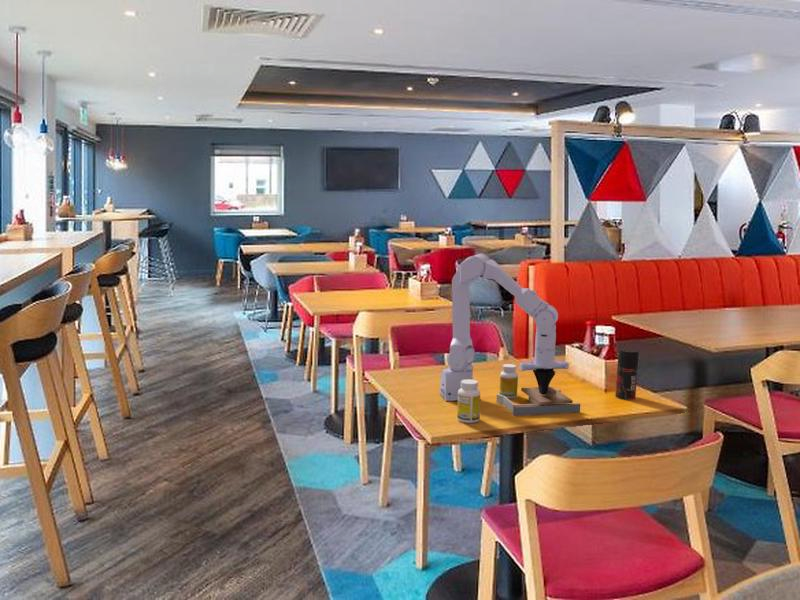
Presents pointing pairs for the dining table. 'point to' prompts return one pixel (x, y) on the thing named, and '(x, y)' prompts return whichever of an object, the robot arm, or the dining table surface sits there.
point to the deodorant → (627, 373)
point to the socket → (537, 407)
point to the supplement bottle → (509, 381)
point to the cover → (547, 396)
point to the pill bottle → (468, 401)
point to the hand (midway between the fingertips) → (542, 393)
